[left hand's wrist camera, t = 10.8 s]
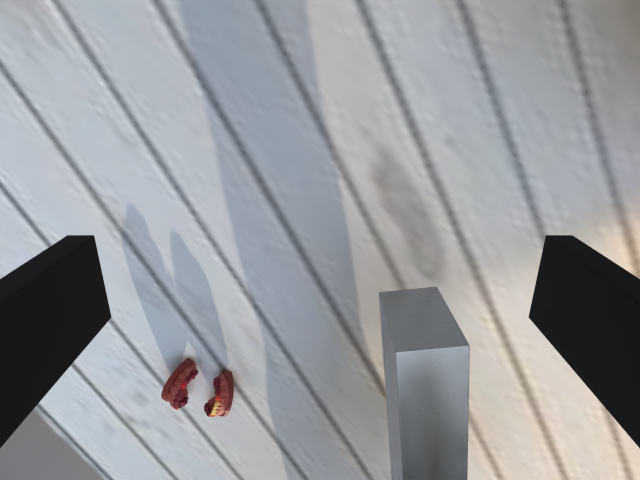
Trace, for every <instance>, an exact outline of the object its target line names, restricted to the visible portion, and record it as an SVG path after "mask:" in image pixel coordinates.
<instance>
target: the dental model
mask: <svg viewBox="0 0 640 480" xmlns="http://www.w3.org/2000/svg"><path fill="white" fill-rule="evenodd" d="M197 373H198V371H197V370H196V366H195V363H194V361H192V360H190V359H189V358H187V359H186V360H185V361H184V362H183V363H181V364H180V365H179V367H178V368H177V369H176V370H175V371H174V372H173V374H172V375H171V376H170V378H169V379H168V381H167V382H166V384H165V386H164V388H163V391H162V395H161V396H162V399H163V400H165V401H167V402H168V401H169V402H170V404H171V406H172V407H173V408H174V409H177V410H178V408H181V407H182V406H185V404H187V402H188V399H189V398H188V397H187V396H188V392H187V389H186V385H187V384H188V383H189V382H190V381H191V379H195V376H196V375H197ZM213 383H214V388H216V389H215V390H216V391H215V394H216V395H217V396H216V397H214V398H212V399H210V400H208V403H206V404H205V406H204V410H205V412H206V414H207V416H209V417H214V416H218V415H219V416H226V415H227V414H228V413H229V411H230V409H231V405H232V400H233V377H232V372H223V373H221V374H220V375H219V376H218V377H216V378H215V379H214V381H213Z"/></svg>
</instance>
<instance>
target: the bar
mask: <svg viewBox="0 0 640 480" xmlns="http://www.w3.org/2000/svg"><path fill="white" fill-rule="evenodd" d="M379 302H380V316H381V330H382V344H383V359H384V373H385V387H386V401H387V416H388V430H389V444H390V459H391V473H392V480H467V465H468V407H469V350H470V346H469V344H468V342H467V340H466V338H465V337H464V335H463V333H462V331H461V329H460V328H459V326H458V324H457V322H456V320H455V319H454V317H453V315H452V313H451V311H450V310H449V308H448V306H447V304H446V303H445V301H444V299H443V297H442V295H441V294H440V292H439V290H438V288H437V287H429V288H419V289H409V290H399V291H389V292H379Z"/></svg>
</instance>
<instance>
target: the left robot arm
mask: <svg viewBox="0 0 640 480" xmlns="http://www.w3.org/2000/svg"><path fill="white" fill-rule="evenodd" d="M110 318H111V313H110V309H109V304H108V299H107V295H106V290H105V285H104V280H103V276H102V271H101V266H100V261H99V257H98V252H97V247H96V243H95V238H94V235H68V236H66V237H64V238H63V239H61V240H60V241H58V242H57V243H55V244H54V245H52V246H51V247H49V248H48V249H46V250H44V251H43V252H41V253H40V254H38V255H37V256H35V257H34V258H32V259H31V260H29V261H28V262H26V263H24V264H23V265H21V266H20V267H18V268H17V269H15V270H14V271H12V272H11V273H9V274H8V275H6V276H4V277H3V278H1V279H0V448H1V447H2V445H3V444H4V443H5V442H6V441H7V439H8V438H9V437H10V436H11V435H12V434H13V432H14V431H15V430H16V429H17V428H18V427H19V425H20V424H21V423H22V422H23V421H24V419H25V418H26V417H27V416H28V415H29V414H30V412H31V411H32V410H33V409H34V408H35V407H36V405H37V404H38V403H39V402H40V401H41V399H42V398H43V397H44V396H45V395H46V394H47V392H48V391H49V390H50V389H51V388H52V387H53V385H54V384H55V383H56V382H57V381H58V379H59V378H60V377H61V376H62V375H63V374H64V372H65V371H66V370H67V369H68V368H69V367H70V365H71V364H72V363H73V362H74V361H75V359H76V358H77V357H78V356H79V355H80V354H81V352H82V351H83V350H84V349H85V348H86V346H87V345H88V344H89V343H90V342H91V341H92V339H93V338H94V337H95V336H96V335H97V334H98V332H99V331H100V330H101V329H102V328H103V326H104V325H105V324H106V323H107V322H108V321H109V319H110ZM529 318H530V319H531V321H532V322H533V323H534V324H535V325H536V326H537V328H538V329H539V330H540V331H541V332H542V334H543V335H544V336H545V337H546V338H547V339H548V341H549V342H550V343H551V344H552V345H553V346H554V348H555V349H556V350H557V351H558V352H559V354H560V355H561V356H562V357H563V358H564V359H565V361H566V362H567V363H568V364H569V365H570V367H571V368H572V369H573V370H574V371H575V372H576V374H577V375H578V376H579V377H580V378H581V379H582V381H583V382H584V383H585V384H586V385H587V387H588V388H589V389H590V390H591V391H592V392H593V394H594V395H595V396H596V397H597V398H598V399H599V401H600V402H601V403H602V404H603V405H604V407H605V408H606V409H607V410H608V411H609V412H610V414H611V415H612V416H613V417H614V418H615V419H616V421H617V422H618V423H619V424H620V425H621V427H622V428H623V429H624V430H625V431H626V432H627V434H628V435H629V436H630V437H631V438H632V440H633V441H634V442H635V443H636V444H637V445H638V447H639V448H640V279H639V278H637V277H636V276H634V275H632V274H631V273H629V272H628V271H626V270H625V269H623V268H622V267H620V266H619V265H617V264H616V263H614V262H612V261H611V260H609V259H608V258H606V257H605V256H603V255H602V254H600V253H599V252H597V251H596V250H594V249H592V248H591V247H589V246H588V245H586V244H585V243H583V242H582V241H580V240H579V239H577V238H575V237H574V236H572V235H546V238H545V243H544V247H543V252H542V257H541V261H540V266H539V271H538V276H537V280H536V285H535V290H534V295H533V299H532V304H531V309H530V313H529Z"/></svg>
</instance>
